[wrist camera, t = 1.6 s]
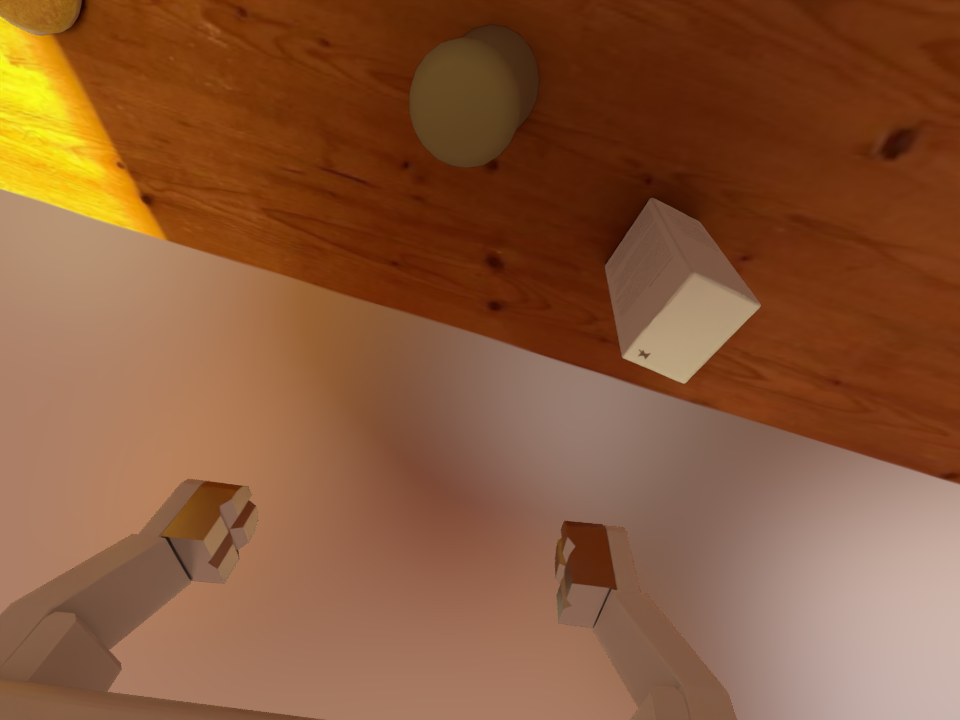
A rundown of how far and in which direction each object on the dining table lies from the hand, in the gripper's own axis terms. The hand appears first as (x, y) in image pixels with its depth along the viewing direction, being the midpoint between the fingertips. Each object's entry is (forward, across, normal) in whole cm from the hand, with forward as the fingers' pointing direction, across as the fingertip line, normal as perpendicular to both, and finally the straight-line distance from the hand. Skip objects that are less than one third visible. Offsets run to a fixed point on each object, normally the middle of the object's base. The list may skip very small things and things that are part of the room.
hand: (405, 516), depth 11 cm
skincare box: (+26, -13, 0) cm, 29 cm away
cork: (+26, 0, -9) cm, 27 cm away
